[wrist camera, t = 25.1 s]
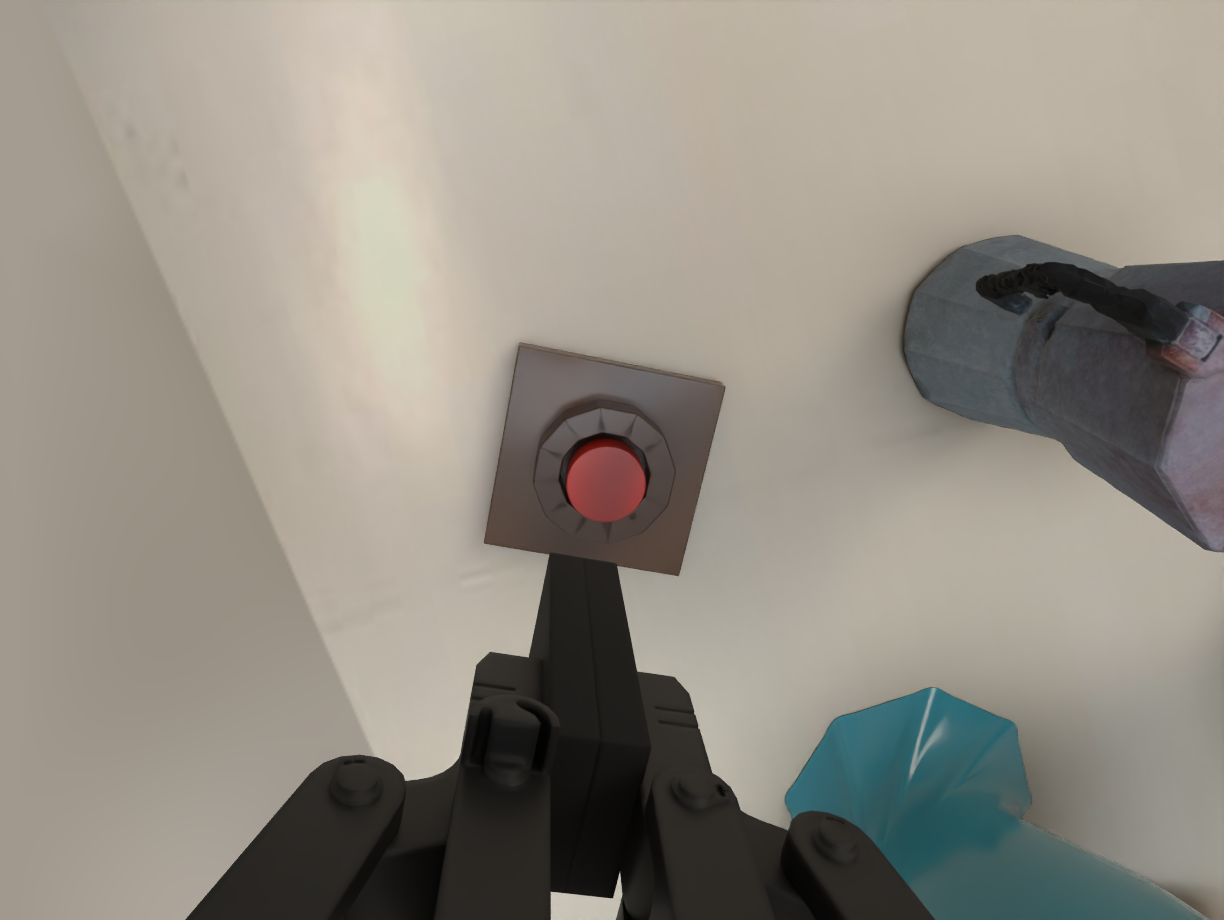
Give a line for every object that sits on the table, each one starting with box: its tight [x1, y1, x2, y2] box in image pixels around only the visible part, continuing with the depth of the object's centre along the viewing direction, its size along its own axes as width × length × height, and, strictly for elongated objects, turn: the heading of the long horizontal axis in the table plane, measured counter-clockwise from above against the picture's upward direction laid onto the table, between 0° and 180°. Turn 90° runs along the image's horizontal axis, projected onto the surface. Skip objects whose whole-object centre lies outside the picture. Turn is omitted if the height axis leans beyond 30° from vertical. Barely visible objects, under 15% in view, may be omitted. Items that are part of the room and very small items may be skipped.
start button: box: [566, 438, 646, 522], centre depth 37 cm, size 4×4×2 cm
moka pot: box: [904, 235, 1224, 552], centre depth 30 cm, size 10×15×20 cm, turn 67°
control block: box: [484, 343, 725, 576], centre depth 39 cm, size 10×10×3 cm
